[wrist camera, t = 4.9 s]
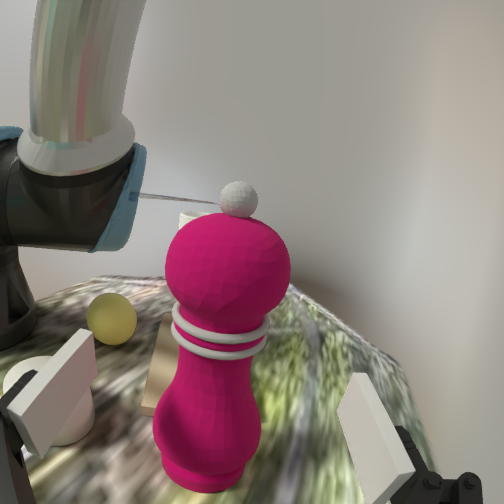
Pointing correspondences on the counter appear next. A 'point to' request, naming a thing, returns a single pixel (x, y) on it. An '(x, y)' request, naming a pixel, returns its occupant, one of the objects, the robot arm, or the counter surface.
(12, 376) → the white rounded piece
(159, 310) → the counter surface
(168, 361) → the serving board
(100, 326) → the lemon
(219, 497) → the counter surface
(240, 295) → the pepper mill
